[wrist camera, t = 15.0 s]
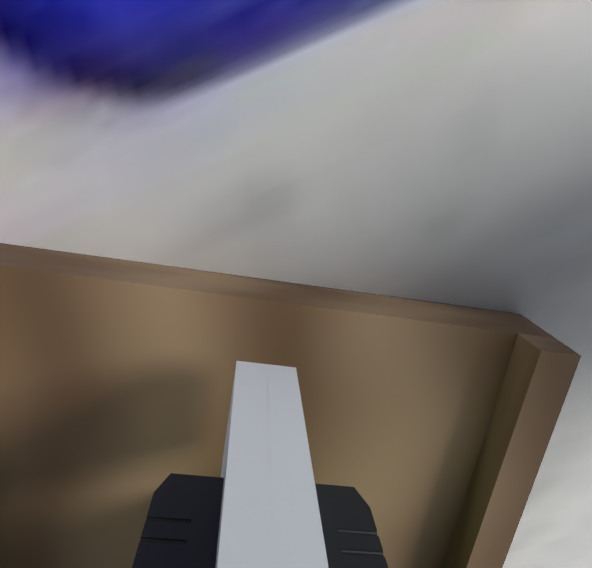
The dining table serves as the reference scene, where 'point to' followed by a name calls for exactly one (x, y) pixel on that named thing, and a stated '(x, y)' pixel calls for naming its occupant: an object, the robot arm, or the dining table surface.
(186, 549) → the robot arm
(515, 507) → the wooden display stand
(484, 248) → the dining table surface
